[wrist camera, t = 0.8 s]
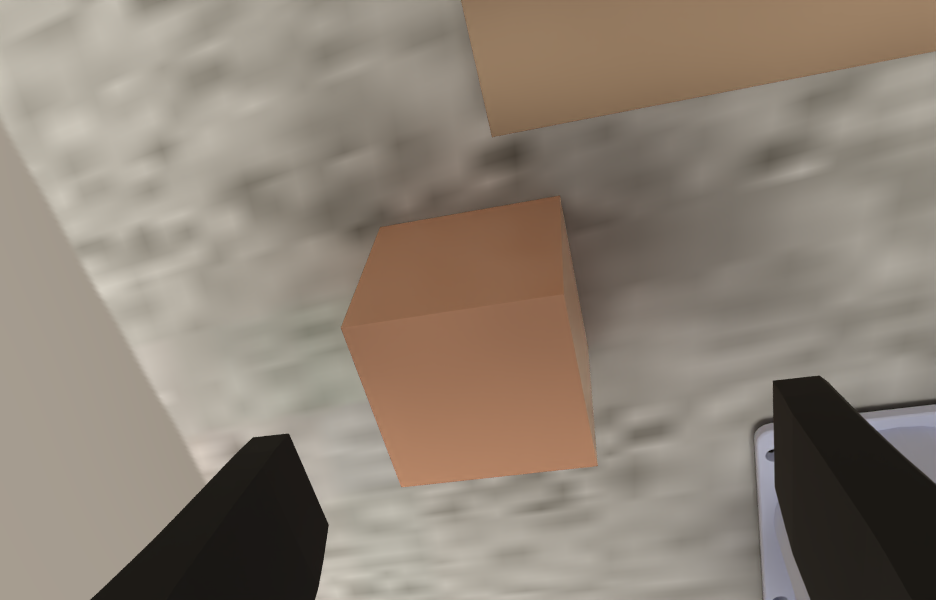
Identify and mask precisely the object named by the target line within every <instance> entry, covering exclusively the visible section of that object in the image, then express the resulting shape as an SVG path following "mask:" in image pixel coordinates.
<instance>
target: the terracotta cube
mask: <svg viewBox="0 0 936 600" xmlns="http://www.w3.org/2000/svg"><path fill="white" fill-rule="evenodd" d="M341 330H342V332H343V335H344V337H345V340H346V343H347V345H348V348H349V351H350V353H351V356H352V358H353V361H354V364H355V366H356V369H357V372H358V374H359V377H360V379H361V382H362V385H363V387H364V390H365V393H366V395H367V398H368V400H369V403H370V406H371V408H372V411H373V414H374V416H375V419H376V421H377V424H378V427H379V429H380V432H381V435H382V437H383V440H384V442H385V445H386V448H387V450H388V453H389V456H390V458H391V461H392V463H393V466H394V469H395V471H396V474H397V477H398V479H399V482H400V485H401V487H408V486H417V485H427V484H436V483H445V482H454V481H464V480H473V479H482V478H491V477H500V476H510V475H519V474H528V473H537V472H547V471H556V470H565V469H574V468H584V467H593V466H598V463H597V451H596V438H595V426H594V414H593V401H592V389H591V377H590V364H589V352H588V344H587V339H586V333H585V328H584V323H583V317H582V312H581V306H580V301H579V296H578V290H577V285H576V280H575V274H574V269H573V263H572V258H571V253H570V247H569V242H568V236H567V231H566V226H565V220H564V215H563V209H562V204H561V199H560V196H555V197H549V198H543V199H538V200H532V201H526V202H521V203H515V204H509V205H504V206H498V207H492V208H486V209H481V210H475V211H469V212H464V213H458V214H452V215H447V216H441V217H435V218H429V219H424V220H418V221H412V222H407V223H401V224H395V225H390V226H384V227H380V229H379V231H378V234H377V237H376V239H375V242H374V244H373V247H372V249H371V252H370V255H369V257H368V260H367V262H366V265H365V267H364V270H363V272H362V275H361V278H360V280H359V283H358V285H357V288H356V290H355V293H354V296H353V298H352V301H351V303H350V306H349V308H348V311H347V313H346V316H345V319H344V321H343V324H342V326H341Z"/></svg>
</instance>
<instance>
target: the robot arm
mask: <svg viewBox="0 0 936 600" xmlns="http://www.w3.org/2000/svg"><path fill="white" fill-rule="evenodd" d="M773 420H774V423H769V424H765V425H763V426H761V427H760V428H758V430H757V431H756V432H755V436H754V444H755V461H756V479H757V497H758V514H759V532H760V550H761V568H762V585H763V600H936V404H934V405H925V406H917V407H908V408H899V409H890V410H882V411H873V412H864V413H858V412H857V411H856V410H855V409H854V408H853V407H852V406H851V405H850V404H849V403H848V402H847V401H846V400H845V399H844V398H843V397H842V396H841V395H840V394H839V393H838V392H837V391H836V390H835V389H834V388H833V387H832V386H831V385H830V384H829V383H828V382H827V381H826V380H825V379H823V378H822V377H821V376H812V377H803V378H794V379H784V380H775V381H773ZM772 449H774V452H772V453H769V452H768V451H769V450H772ZM328 526H329V525H328V522H327V520H326V518H325V515H324V513H323V511H322V509H321V506H320V504H319V502H318V499H317V497H316V495H315V492H314V490H313V488H312V486H311V483H310V481H309V479H308V476H307V474H306V472H305V469H304V467H303V465H302V463H301V460H300V458H299V456H298V453H297V451H296V449H295V446H294V444H293V442H292V440H291V437H290V435H289V434H280V435H271V436H262V437H253V438H252V439H251V440H250V441H249V442H248V443H247V444H246V445H245V446H243V447H242V448H241V449H240V450H239V451H238V452H237V453H236V454H235V455H234V456H233V457H232V458H231V459H230V460H229V462H228V463H227V464H226V465H225V466H224V467H223V468H222V469H221V470H220V471H219V472H218V473H217V474H216V475H215V476H214V477H213V478H212V479H211V480H210V481H209V482H208V483H207V485H206V486H205V487H204V488H203V489H202V490H201V491H200V492H199V493H198V494H197V495H196V496H195V497H194V498H193V499H192V500H191V501H190V502H189V503H188V504H187V505H186V506H185V508H184V509H183V510H182V511H181V512H180V513H179V514H178V515H177V516H176V517H175V518H174V519H173V520H172V521H171V522H170V523H169V524H168V525H167V526H166V527H165V528H164V529H163V530H162V531H161V532H160V533H159V534H158V535H157V536H156V537H155V538H154V539H153V541H151V542H150V543H149V544H148V545H147V546H146V547H145V548H144V549H143V550H142V551H141V552H140V553H139V554H138V555H137V556H136V557H135V558H134V559H133V560H132V561H131V562H130V563H129V564H127V566H126V567H124V568H123V569H122V570H121V571H120V572H119V573H118V574H117V575H116V576H115V577H114V578H113V579H112V580H111V581H110V582H109V583H108V584H107V585H106V586H105V587H104V588H103V589H101V590H100V591H99V592H98V593H97V594H96V595H95V596H94V597H93V598H92V599H91V600H315V598H316V594H317V591H318V587H319V582H320V576H321V571H322V565H323V560H324V553H325V546H326V539H327V533H328Z"/></svg>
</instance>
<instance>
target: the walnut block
mask: <svg viewBox="0 0 936 600" xmlns="http://www.w3.org/2000/svg"><path fill="white" fill-rule="evenodd" d="M461 2H462V6H463V11H464V15H465V20H466V24H467V29H468V33H469V37H470V42H471V46H472V51H473V55H474V60H475V64H476V68H477V73H478V77H479V82H480V86H481V91H482V95H483V99H484V104H485V108H486V113H487V117H488V122H489V126H490V130H491V135H492V137H495V136H501V135H506V134H511V133H516V132H521V131H526V130H532V129H537V128H542V127H547V126H552V125H557V124H562V123H568V122H573V121H578V120H583V119H588V118H593V117H599V116H604V115H609V114H614V113H619V112H624V111H629V110H635V109H640V108H645V107H650V106H655V105H660V104H666V103H671V102H676V101H681V100H686V99H691V98H696V97H702V96H707V95H712V94H717V93H722V92H727V91H732V90H738V89H743V88H748V87H753V86H758V85H763V84H769V83H774V82H779V81H784V80H789V79H794V78H799V77H805V76H810V75H815V74H820V73H825V72H830V71H836V70H841V69H846V68H851V67H856V66H861V65H866V64H872V63H877V62H882V61H887V60H892V59H897V58H903V57H908V56H913V55H918V54H923V53H928V52H933V51H936V0H461Z"/></svg>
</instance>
